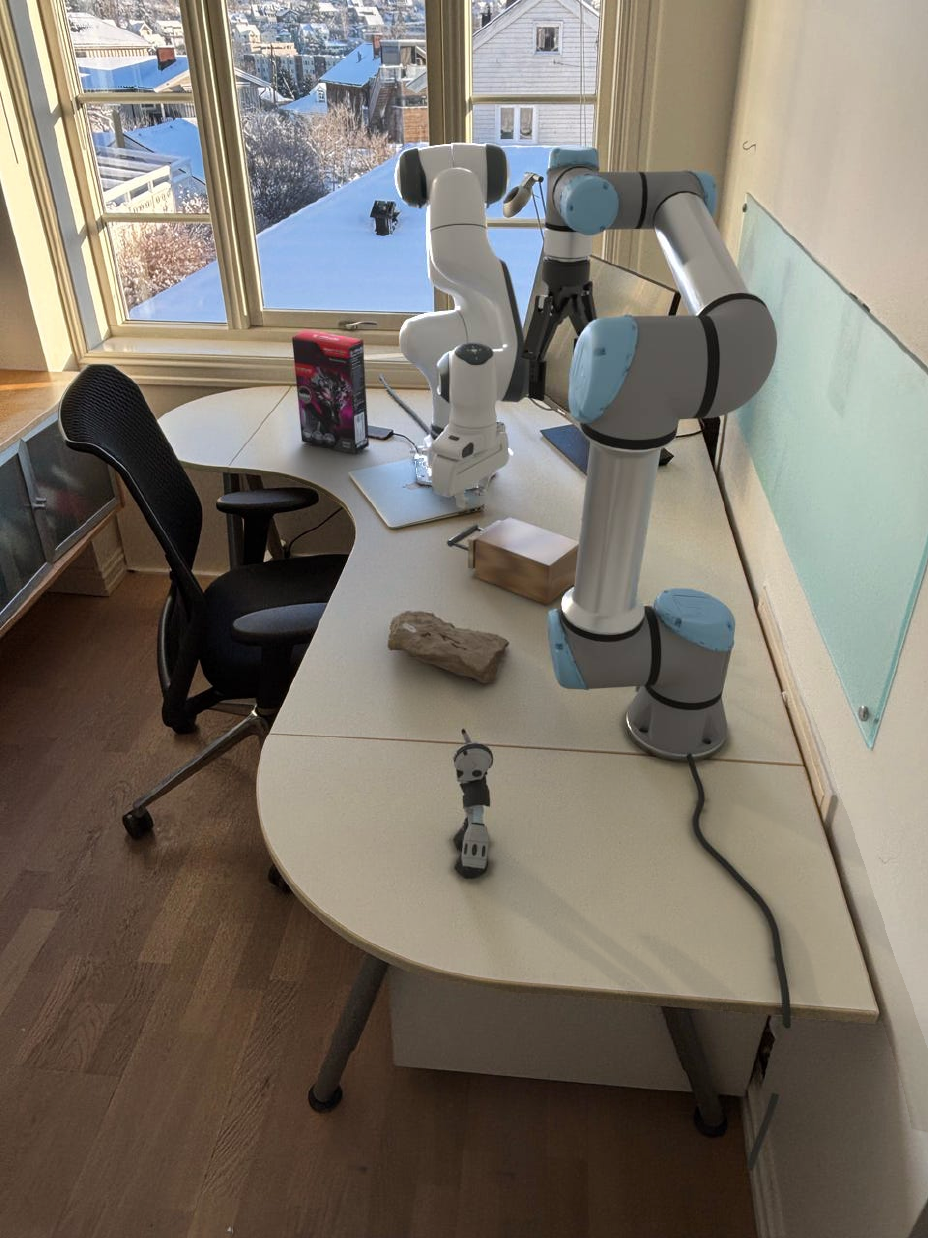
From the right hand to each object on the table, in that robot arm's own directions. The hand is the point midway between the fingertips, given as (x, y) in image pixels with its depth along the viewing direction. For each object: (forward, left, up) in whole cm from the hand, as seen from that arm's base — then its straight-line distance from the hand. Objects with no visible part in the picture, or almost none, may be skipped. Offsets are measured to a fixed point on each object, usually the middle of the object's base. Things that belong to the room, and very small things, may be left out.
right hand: (558, 387), depth 156 cm
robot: (-69, -4, -40) cm, 80 cm away
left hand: (+6, +17, -27) cm, 32 cm away
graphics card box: (+52, +64, -40) cm, 91 cm away
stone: (-28, +12, -40) cm, 50 cm away
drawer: (+4, +9, -38) cm, 40 cm away
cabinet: (+1, +4, -40) cm, 40 cm away
